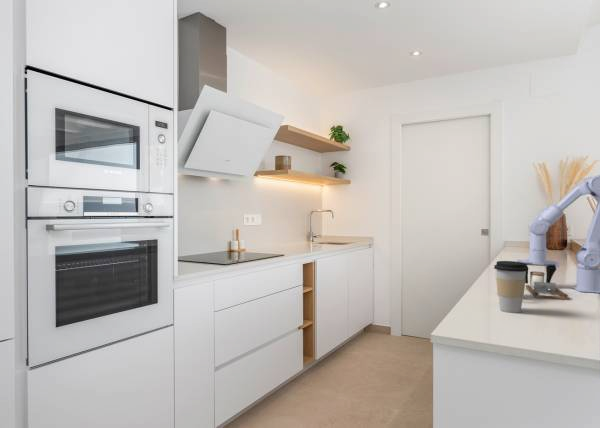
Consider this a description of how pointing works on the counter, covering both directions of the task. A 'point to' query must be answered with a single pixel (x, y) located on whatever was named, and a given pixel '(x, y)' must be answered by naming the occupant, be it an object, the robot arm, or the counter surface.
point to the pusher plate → (545, 287)
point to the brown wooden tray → (561, 296)
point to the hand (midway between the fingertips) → (537, 283)
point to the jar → (536, 277)
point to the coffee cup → (510, 285)
